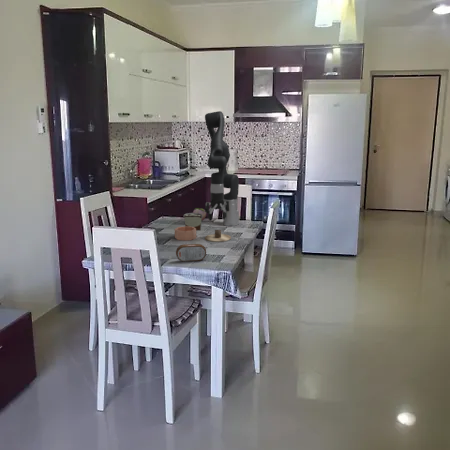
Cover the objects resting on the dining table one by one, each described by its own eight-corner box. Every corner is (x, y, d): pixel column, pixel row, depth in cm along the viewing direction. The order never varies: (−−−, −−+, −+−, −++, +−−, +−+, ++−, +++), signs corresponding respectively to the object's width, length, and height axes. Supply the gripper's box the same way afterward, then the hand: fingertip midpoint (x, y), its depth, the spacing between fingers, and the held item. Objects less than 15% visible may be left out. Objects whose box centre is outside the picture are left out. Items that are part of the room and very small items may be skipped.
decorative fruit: (208, 221, 314) (208, 206, 312) (202, 223, 307) (202, 208, 305) (197, 219, 319) (197, 205, 317) (190, 221, 312) (190, 207, 310)
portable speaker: (206, 259, 233) (205, 243, 231) (206, 261, 230) (206, 244, 228) (176, 260, 231) (175, 244, 229) (176, 262, 228) (176, 246, 226)
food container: (204, 228, 295) (204, 212, 292) (202, 230, 289) (202, 215, 286) (185, 227, 296) (184, 212, 294) (183, 230, 290) (183, 214, 288)
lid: (223, 234, 279) (223, 226, 277) (235, 239, 266) (235, 231, 264) (200, 237, 272) (200, 229, 271) (211, 243, 259) (211, 235, 258)
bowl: (191, 235, 279) (190, 225, 277) (198, 239, 269) (198, 229, 267) (172, 237, 274) (172, 227, 272) (180, 242, 263) (179, 232, 262)
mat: (224, 234, 280) (224, 233, 280) (237, 241, 265) (237, 240, 265) (198, 237, 273) (198, 236, 272) (211, 244, 258) (211, 244, 258)
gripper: (225, 189, 269) (225, 217, 272) (203, 191, 263) (203, 219, 266) (231, 191, 262) (231, 219, 266) (208, 193, 256) (208, 221, 260)
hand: (217, 219), depth 266 cm, fingers open, 8 cm apart
